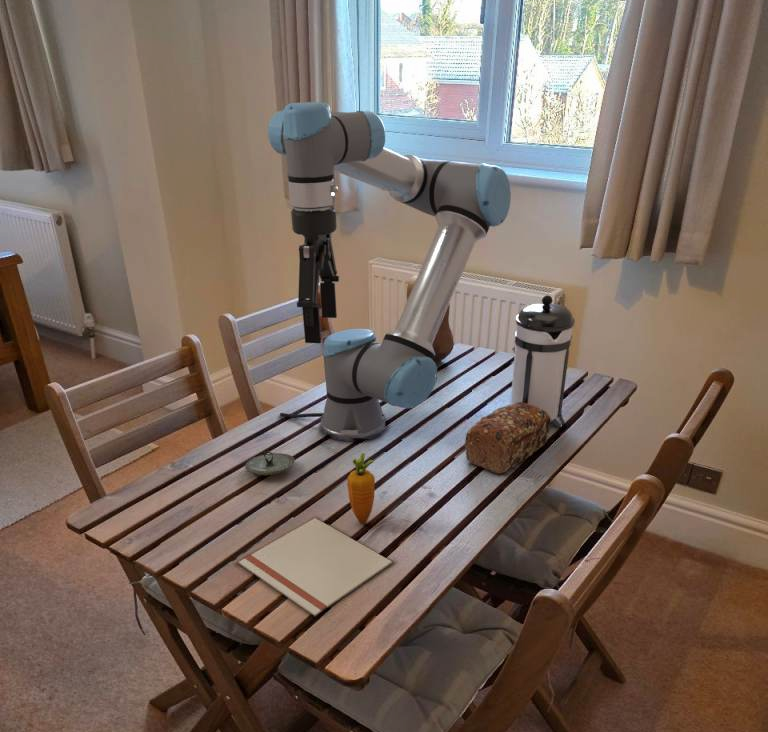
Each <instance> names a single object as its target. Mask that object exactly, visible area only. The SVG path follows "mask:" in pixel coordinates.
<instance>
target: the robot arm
mask: <svg viewBox="0 0 768 732" xmlns="http://www.w3.org/2000/svg"><path fill="white" fill-rule="evenodd" d="M267 127H268V130H267V136H268V140H269V144H270V146H271V147H272V149H273V150H274V151H275V152H276V153H277V154H279V155H283V156H285V158H286V167H287V178H288V194H289V195H288V196H289V206H291V207H292V209H291V211H290V218H291V226H292V227H291V228H292V232H293V233H294V234H296V235H302V236H303V237H304V241H303V242H304V243H303V244H300V245H299V246H298V254H299V255H298V256H299V267H298V294H297V298H298V299H297V301H296V307H297V308H302V319H303V320H302V321H303V332H304V343H305V344H321V343H322V333H321V320H320V307H321V318H324V319H326V318H327V319H337V317H338V316H337V297H336V283H339V282H340V276H339V275H337V274H338V270H337V265H336V260H335V259H336V258H335V254H334V253H335V252H334V249H333V244H332V233H334V232H336V230H337V229H338V228H337V211H336V209H335V207H334V205H335V203H336V197H335V195H336V194H335V193H338V191H339V188H338V186H337V185H334V183H335V180H334V179H335V172H337V173H339V174H342V175H343V176H346V177H349V178H351V179H354V180H357V181H360V182H361V183H364V184H367V185H370V186H371V187H374V188H377V189H380V190H382V191H385V192H387V193H389V194H390V196H391V197H392V199H393V200H395V201H397V202H398V203H402V204H404V205H406V206H408V207H411V208H413V209H415V210H417V211H420V212H421V213H423V214H427V215H429V216H432V217H435V220H436V223H437V225H438V227H437V229H436V232H435V235H434V236H433V239H432V241H431V244H430V245H429V248H428V251H427V253H426V256H425V258H424V260H423V262H422V264H421V266H420V267H421V268H420V270H419V273H418V274H417V275H418V277H417V279H416V281H415V284H414V286H413V288H412V291H411V293H410V296H409V298H408V300H407V299H406V303H405V305H404V307H403V310H402V312H401V315H400V317H399V320H398V322H397V324H396V326H395V328H394V329H392V330H390V331H388V332H385V334H384V337H383V339H382V341H381V343H379V342H377V341H376V340H377V336H376V334H375V331H374V330H372V329H369V328H350V329H345V330H340V331H337V332H334V333H331V334H329V335H328V336H327V337H326V338H325V339H324V341H323V354H322V356H323V365H324V367H323V368H324V377H325V379H324V380H325V390H326V401H325V404H324V409H323V412H313V413H311V412H310V413H296V414H295V413H294V414H293V413H286V412H280V413H279V417H284V418H289V419H301V418H317V417H318V418H321V419H320V425H321V431H322V433H323V434H324V435H325V436H327V437H328V438H331V439H333V440H338V441H344V442H358V441H360V442H361V441H365V440H368V439H372V438H374V437H377V436H379V435H380V434H381V433H382V432H383V431H384V430H385V429H386V415H385V413H384V411H383V408H382V406H381V403H380V401H381V402H384V403H386V404H388V405H390V406H392V407H399V408H403V409H414V408H416V407H417V406H420V405H421V404H423V403H424V402H425V401H426V400H427V399H428V398H429V396H430V395H431V394H432V392H433V390H434V388H435V386H436V383H437V379H438V376H437V374H438V367H437V364H435V362H434V361H433V359H434V357H435V352H434V350H433V347H432V344H433V341H434V339H435V336H436V334H437V332H438V329H439V327H440V325H441V322H442V320H443V318H444V315H445V313H446V311H447V308H448V306H449V303H450V304H451V301H452V298H453V297H454V294H455V293H456V292H455V291H456V289H457V287H458V284H459V283H460V279H461V277H462V276H463V273H464V270H465V268H466V266H467V263H468V261H469V259H470V257H471V254H472V251H473V249H474V247H475V244H476V243H478V242H480V241H483V240H484V239H486V237H487V235H488V233H489V230H490V228H491V227H492V228H493V227H494V228H495V227H498V226H500V225H501V224H503V223H504V222H505V221H506V219H507V216H508V214H509V211H510V207H511V199H512V198H511V197H512V191H511V184H510V180H509V177H508V175H507V173H506V172H505V170H504V169H503V168H501V167H500V166H498V165H493V164H488V163H486V162H482V163H473V162H463V161H462V162H461V161H451V160H441V159H440V160H439V159H425V158H422V157H421V158H420V157H417V156H415V155H414V154H413V155H412V154H405V155H401V154H399V153H397V152H394V151H392V150H391V149H388V148H386V147H385V144H386V129H385V125H384V122H383V120H382V119H381V118H380V117H379V116H378V115H377V113H375V112H373V111H370V110H369V111H368V110H367V111H366V110H365V111H364V110H356V111H353V112H352V111H351V112H344V111H331V108H330V105H329V104H328V103H326V102H322V101H321V102H320V101H306V102H292V103H288V104H287V105H285V106H284V109H283V110H279V111H276V112H275V113H274V114H273V115H272V117H271V118H270V120H269V124H268V126H267ZM320 281H321V282H320ZM319 290H320V291H319ZM319 292H320V306H319V305H318V295H319Z"/></svg>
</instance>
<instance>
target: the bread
mask: <svg viewBox="0 0 768 732" xmlns="http://www.w3.org/2000/svg"><path fill="white" fill-rule="evenodd" d="M551 422H552V421H551V419H550V416H549V414H548V413H547V412H546V411H544V410H541V409H539V408H537V407H535V406H532V405H530V404H526V403H523V402H519V403H516V404H513V405H510V404H507V405H505V406H501V407H498V408H497V409H494V410H493V411H492V412H491V413H489V414H487V415H486V416H483V417H481V419H480V420H478V421H477V423H475V424H474V425H473V426H471V427H470V428H469V429H468V431H467V432H466V433H465V441H464V448H465V457H466V460H467V461H469V462H470V463H471V464H472V465H475V466H477V467H479V468H483V469H485V470H486V471H489V472H492V473H493V474H504V473H506V472H507V471H508V470H509V469H511V468H513V467H516V466H517V465H519V464H520V463H522V462H523V461H525V460H527V459H528V458H529V457H531V456H533V454H534V453H536V452H537V451H538V450H540V448H542V447H543V446H545V444H547V441H548V437H549V435H550V428H551Z"/></svg>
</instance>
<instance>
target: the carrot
mask: <svg viewBox="0 0 768 732" xmlns="http://www.w3.org/2000/svg"><path fill="white" fill-rule="evenodd" d="M365 457H366V453H365V452H361V453H360V457H359V458H357V457H353V458H352V460H351V461H352V463H353V465H354V466H355V470H352V471H350V474H349V475H348V476H347V479H346V482H347V493H348V498H349V499H348V500H349V503H350V507H351V511H352V512H353V515H354V517H355V518H356V520H357V521H358V523H359V524H360V525H362V526H363V525H365V524H366V523H367V522H368V520H369V518H370V515H371V513H372V510H373V507H374V506H373V505H374V501H375V490H376V489H375V487H376V486H375V483H376V482H375V481H376V480H375V476H374V474H373V473H372V472H371V471H370V470H368V469H367V468H368V467H369V466H370V465H371V464H373V463H374V462H375V461H374V460H373V459H370V460H368V461H367V462H365Z"/></svg>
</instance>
